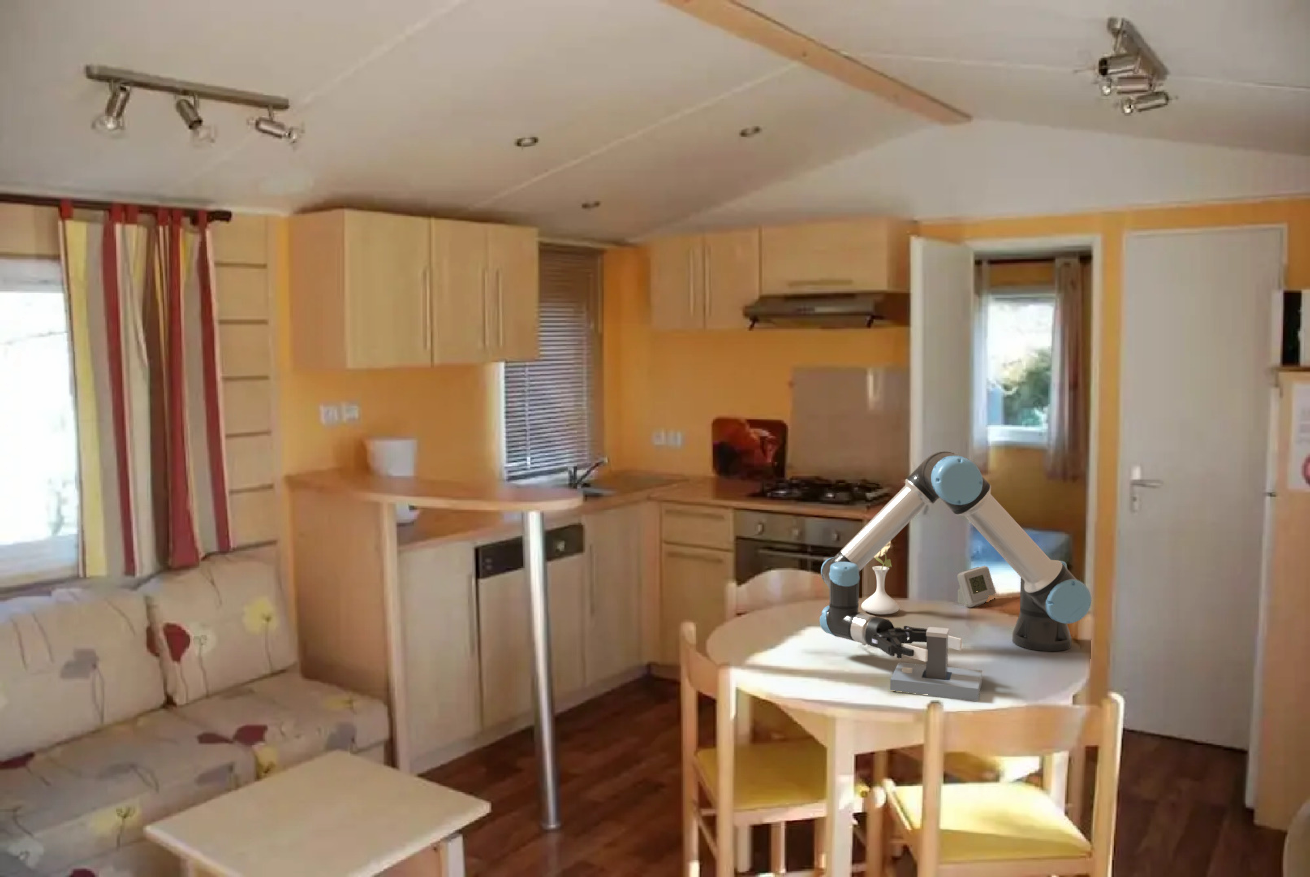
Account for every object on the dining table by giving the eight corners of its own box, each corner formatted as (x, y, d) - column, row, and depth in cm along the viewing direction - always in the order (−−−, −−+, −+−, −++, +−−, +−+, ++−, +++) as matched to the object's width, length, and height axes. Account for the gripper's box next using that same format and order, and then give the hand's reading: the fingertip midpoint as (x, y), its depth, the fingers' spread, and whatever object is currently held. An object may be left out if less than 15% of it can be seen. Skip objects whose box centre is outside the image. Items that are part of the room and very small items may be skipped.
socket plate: (981, 682, 260) (982, 667, 260) (977, 701, 247) (978, 685, 247) (898, 673, 267) (898, 659, 267) (890, 691, 254) (890, 676, 254)
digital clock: (968, 609, 328) (969, 575, 327) (946, 603, 336) (947, 570, 335) (1004, 602, 336) (1005, 569, 335) (982, 596, 344) (983, 563, 343)
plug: (947, 685, 259) (949, 628, 257) (945, 691, 254) (946, 633, 253) (927, 682, 260) (928, 626, 259) (924, 689, 256) (926, 632, 255)
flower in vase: (856, 608, 330) (857, 528, 327) (892, 607, 331) (893, 527, 329) (869, 619, 317) (870, 536, 314) (906, 618, 318) (908, 535, 316)
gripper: (903, 636, 279) (974, 655, 263) (840, 655, 264) (911, 676, 247) (904, 608, 279) (974, 625, 262) (840, 625, 263) (911, 644, 247)
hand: (944, 650), depth 255 cm, fingers open, 13 cm apart
